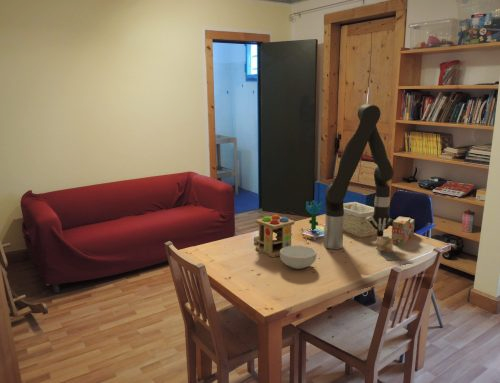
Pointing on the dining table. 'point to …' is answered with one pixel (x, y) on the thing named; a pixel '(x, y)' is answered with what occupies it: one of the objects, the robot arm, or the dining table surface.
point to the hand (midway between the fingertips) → (380, 236)
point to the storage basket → (358, 219)
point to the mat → (390, 256)
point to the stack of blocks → (402, 230)
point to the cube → (384, 244)
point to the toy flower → (313, 212)
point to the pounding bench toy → (266, 234)
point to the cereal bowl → (298, 256)
